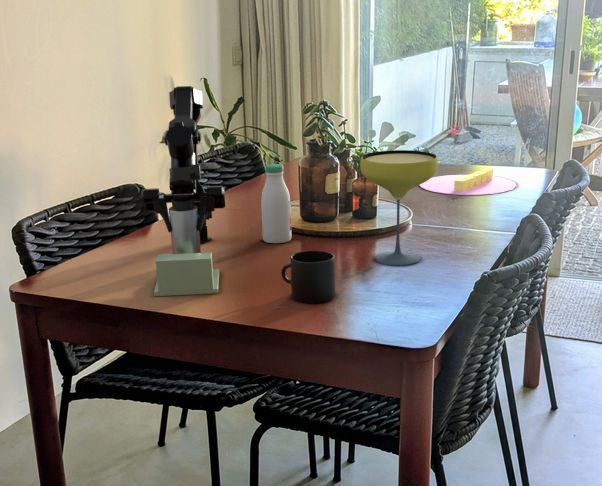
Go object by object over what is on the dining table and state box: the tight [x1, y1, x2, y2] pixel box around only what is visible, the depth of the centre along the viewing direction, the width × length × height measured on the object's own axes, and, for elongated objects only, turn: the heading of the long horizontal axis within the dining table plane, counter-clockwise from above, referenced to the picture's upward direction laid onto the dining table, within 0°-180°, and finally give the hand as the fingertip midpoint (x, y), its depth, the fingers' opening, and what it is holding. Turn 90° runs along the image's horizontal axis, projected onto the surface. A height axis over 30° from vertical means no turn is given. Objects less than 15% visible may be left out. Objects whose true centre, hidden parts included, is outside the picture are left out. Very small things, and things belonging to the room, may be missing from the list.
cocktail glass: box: [359, 149, 439, 267], centre depth 206 cm, size 18×18×25 cm
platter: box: [419, 168, 517, 196], centre depth 289 cm, size 32×32×3 cm
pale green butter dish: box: [153, 252, 220, 297], centre depth 196 cm, size 15×14×8 cm
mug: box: [280, 249, 336, 304], centre depth 186 cm, size 9×12×9 cm
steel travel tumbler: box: [168, 197, 202, 254], centre depth 195 cm, size 6×6×14 cm
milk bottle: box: [260, 163, 292, 244], centre depth 227 cm, size 8×8×20 cm
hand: (184, 230), depth 194 cm, fingers closed on steel travel tumbler, 6 cm apart
